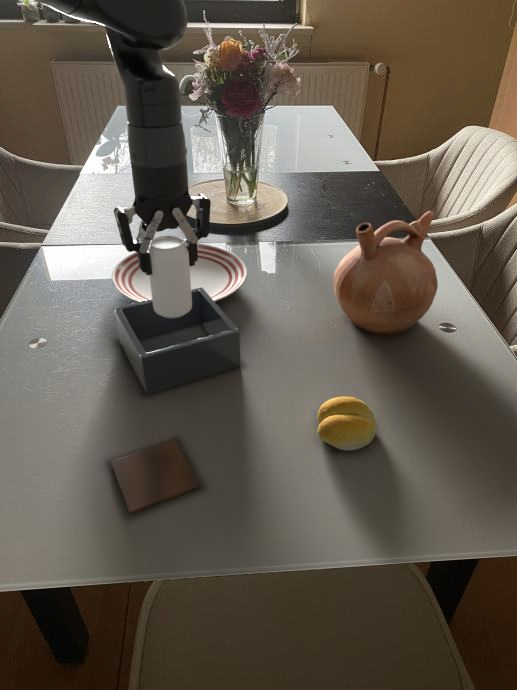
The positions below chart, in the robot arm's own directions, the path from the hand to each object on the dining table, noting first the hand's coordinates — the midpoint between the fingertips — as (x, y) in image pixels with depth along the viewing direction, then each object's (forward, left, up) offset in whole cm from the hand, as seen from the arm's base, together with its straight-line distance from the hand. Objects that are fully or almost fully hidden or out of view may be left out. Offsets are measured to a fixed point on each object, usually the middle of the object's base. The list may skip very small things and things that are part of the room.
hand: (169, 268), depth 82 cm
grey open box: (0, 0, -16) cm, 16 cm away
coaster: (-12, -24, -16) cm, 31 cm away
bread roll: (+15, -28, -17) cm, 36 cm away
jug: (+38, -6, -16) cm, 42 cm away
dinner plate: (+9, +23, -16) cm, 30 cm away
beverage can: (0, 0, -8) cm, 8 cm away
